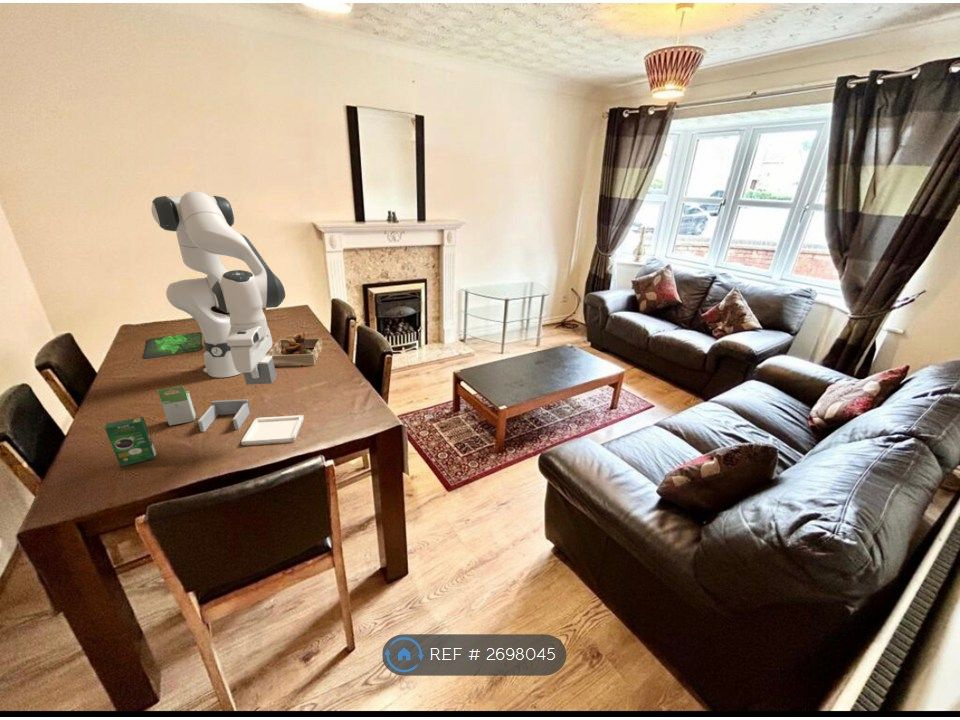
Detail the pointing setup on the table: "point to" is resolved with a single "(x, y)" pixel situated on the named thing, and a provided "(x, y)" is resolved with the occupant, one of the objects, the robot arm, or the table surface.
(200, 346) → the mouse mat
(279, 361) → the crate
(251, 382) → the upright white block
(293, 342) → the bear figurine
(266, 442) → the tray
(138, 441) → the coffee box
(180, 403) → the ink box
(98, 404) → the table surface
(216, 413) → the bay
